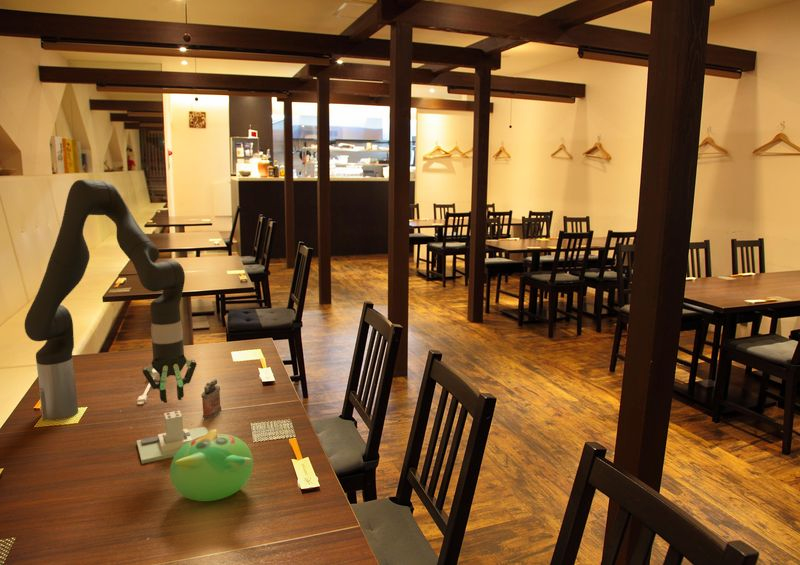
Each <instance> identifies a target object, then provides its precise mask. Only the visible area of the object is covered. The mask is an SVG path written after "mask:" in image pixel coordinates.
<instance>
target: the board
mask: <svg viewBox="0 0 800 565" xmlns="http://www.w3.org/2000/svg"><path fill="white" fill-rule="evenodd" d="M206 427H207V426H201V427H195V428H192V429H191V428H190V429H188V428H183V436H184V440H181V441H177V442H172V443H167V442H166V433H165V432H163V433H158V434H157V436H151V437H147V438H142V439H138V440H136V446H137V449H138V454H139V458H140V462H141V464H142V465H143V464H148V463H152V462H156V461H160V460H166V459H169V458H174V456H175V455H176V453H177V452H178V450H179V449H180V448H181V447H182V446H184V445H185V444H186V443H188V442H189V441H191V440H193V439H195V438H198V437H201V436H204V435H206V434H207V433H208V432H209V430H208V429H207V428H206Z"/></svg>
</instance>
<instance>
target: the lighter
mask: <svg viewBox="0 0 800 565" xmlns="http://www.w3.org/2000/svg"><path fill="white" fill-rule="evenodd" d="M217 384H218V380H217V379H213V380H211V381H210V382H207V383H206V384H205V386H204V391H203V392H202V393H201V395H200V396H201V399H202V419H203V418H204V420H210V418H211V419H212V417H213V418H214V417H216V416H217V415H219V413H220V412H221V411H222V405H221V393H220V391H221V386H220V385H217ZM220 410H221V411H220ZM215 415H216V416H215Z"/></svg>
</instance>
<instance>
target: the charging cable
mask: <svg viewBox="0 0 800 565" xmlns="http://www.w3.org/2000/svg"><path fill="white" fill-rule="evenodd" d="M152 372H153V373H152V374H151V376H152V377H153V379H154V381H159V375H160V374H159V373H158V372H157V371H156V370H155V369H154V368H153V369H152ZM145 379H146V378H145ZM145 381H147V379H146V380H145ZM151 388H152V386H151V385H150V383H149V382H148V384H147V386H146V388H145V390H144V392H143V394H141V395H139V396H138V398H137V400H136V405H143V404H146V403H147V402H148V393H149V390H150V389H151Z"/></svg>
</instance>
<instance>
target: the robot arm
mask: <svg viewBox="0 0 800 565" xmlns="http://www.w3.org/2000/svg"><path fill="white" fill-rule="evenodd" d="M89 216H106V217H107V218H109V219H110V220H111V221H112V222H113V223H114V224H115V227H116V241H117V244H118V246H119V248H120V250H121V251H122V252H123V253H124V255H125V256H126V257H127V258H128V259H129V260H130V262H131V263H132V264H133V267H134V269H135V271H136V274H137V276H138V280H139V282H140V284H141V285H142V287H144V288H145V289H146V290H148V291H150V292H153V293H154V292H159V291H162V293H161V295H160V296H159V297H157V298H155V299H153V300H152V302H151V303H150V318H151V319H150V322H151V326H150V328H151V330H150V333H151V335H150V337H151V346H152V347H151V348H152V362H151V364H150V365H148V366H144V367H142V368H141V371H142V374H143V375H144V377H145V379H147V380H148V381H147V380H146V381H147V382H148V384H149V383H150V385H151V388H152V389H153V390H159V398H160V401H161V402H162V403H164V404H165V403H168V399H167V389H166V382H167V377H170V376H173V377H175V380H176V383H177V384H176V393H177V394H176V396H177V400H178V401H181V400H182V399H183V398H184V397H185V393H184V386H186V384H190V382H191V380H192V378H193V376H194V372H195V370H196V367H197V362H196V360H194V359H190V360H189V359H187V358H186V356H185V349H184V348H185V347H184V333H183V332H184V331H183V325H182V321H181V318H182V317H181V308H180V304H181V301H182V296H183V293H184V292H183V291H184V285H185V279H186V276H185V275H186V274H185V271H184V268H183V267H182V264H181V263H179V262H178V261H176V260H166V261H161V262H160V261H159V262H157V261H158V260H159V257H160V251H159V249H158V247H157V246H156V244H155V243H154V242H153V241H152V240H151V239H150V238H149V236H148V235H147V234H146V233H145V232H144V231H143V229H142V228H141V227H140V225H139V224H138V223H137V221H136V220H135V218H134V216H133V214H132V212H131V211H130V209H129V207H128V205H127V204H126V202H125V200H124V198H123V197H122V195H121V193H120V192H119V190H118V189H117V188H116V186H115V185H113V183H111V182H108V181H105V180H104V181H102V180H94V179H78V180H76V181H74V182H73V183H72V184H71V186H70V189H69V191H68V194H67V198H66V202H65V205H64V212H63V216H62V220H61V225H60V228H59V231H58V234H57V238H56V241H55V243H54V246H53V249H52V251H51V254H50V257H49V259H48V262H47V266H46V270H45V273H44V276H43V278H42V281H41V283H40V286H39V288H38V291H37V293H36V296H35V297H34V300H33V302H32V303H31V306H30V307H29V309H28V311H27V313H26V316H25V318H24V332H25V334H26V336H27V337H28V338H29V339H30V340H31V341H34V342H44V341H45V343H44V345H43V346H42V347H40V348H39V349H38V350H37V351H36V353H35V362H36V370H37V377H38V378H37V379H38V385H39V390H38V392H39V400H40V407H41V416H42V421H57V420H56V419H60V420H64V418H65V419H67V417H68V418H71V417H73V416H74V415H76V414H78V412H79V403H78V396H77V394H78V393H77V386H76V377H75V376H76V375H75V370H74V360H73V351H74V348H75V340H74V322H73V318H72V314H71V312H70V311H69V309H68V308H67V307H66V306H64V305H63V304H62V302H63V301H64V300H65V299H66V297H68V295H70V294H71V293H72V292H73V290H74V289H75V288H76V287H77V286H78V285H79V283H80V282H81V281H82V279H83V278H84V275H85V273H86V270H87V267H88V265H89V262H90V257H91V255H90V250H89V248H88V244H87V242H86V239H85V237H84V227H85V224H86V221H87V218H88V217H89ZM185 365H186V368H187V369H186V371H185V375H184V377H183V378H182V374H181V371H182V370H183V368H184V367H185ZM153 368H154V369H155V370H156V371H157V372H158V373H159V374H160V375H159V380H158V382H156V380H154V379H153V377H152V376H151V374H152V373H153V372H152V369H153ZM70 416H71V417H70Z"/></svg>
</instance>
